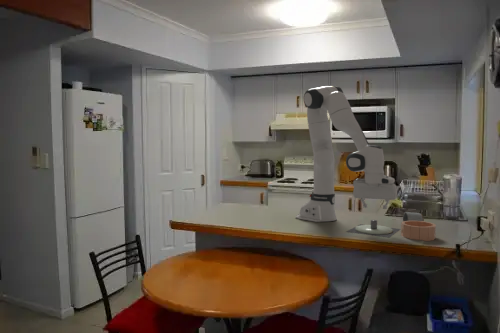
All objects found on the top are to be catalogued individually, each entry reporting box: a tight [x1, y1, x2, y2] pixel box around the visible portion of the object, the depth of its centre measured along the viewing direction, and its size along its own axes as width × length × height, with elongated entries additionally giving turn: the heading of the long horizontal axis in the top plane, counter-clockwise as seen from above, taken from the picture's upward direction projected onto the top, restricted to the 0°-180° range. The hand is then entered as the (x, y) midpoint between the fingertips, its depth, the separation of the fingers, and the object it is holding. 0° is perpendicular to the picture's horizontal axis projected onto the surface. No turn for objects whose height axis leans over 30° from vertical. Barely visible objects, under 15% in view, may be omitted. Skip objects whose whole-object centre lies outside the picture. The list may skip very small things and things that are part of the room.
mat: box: [345, 224, 401, 239], centre depth 196 cm, size 20×20×1 cm
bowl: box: [400, 220, 437, 242], centre depth 185 cm, size 14×14×6 cm
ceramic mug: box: [402, 211, 425, 222], centre depth 206 cm, size 11×8×8 cm
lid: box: [354, 219, 393, 235], centre depth 196 cm, size 17×17×5 cm
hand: (375, 208), depth 195 cm, fingers open, 8 cm apart
